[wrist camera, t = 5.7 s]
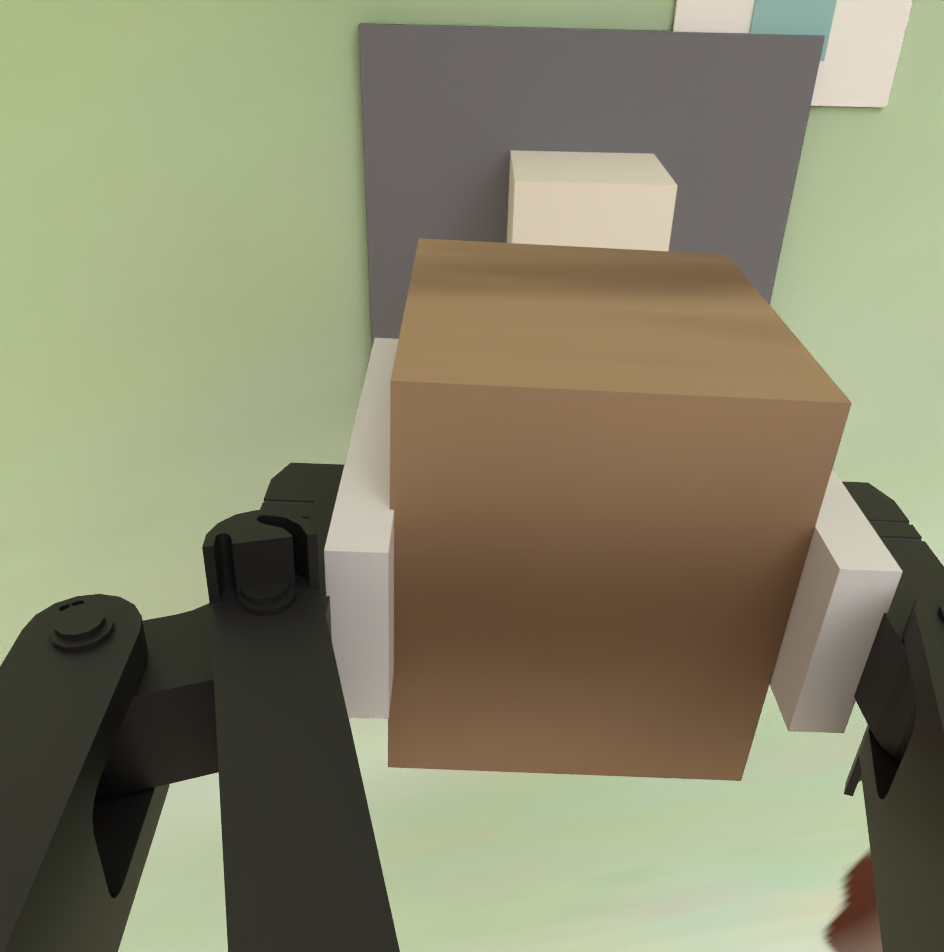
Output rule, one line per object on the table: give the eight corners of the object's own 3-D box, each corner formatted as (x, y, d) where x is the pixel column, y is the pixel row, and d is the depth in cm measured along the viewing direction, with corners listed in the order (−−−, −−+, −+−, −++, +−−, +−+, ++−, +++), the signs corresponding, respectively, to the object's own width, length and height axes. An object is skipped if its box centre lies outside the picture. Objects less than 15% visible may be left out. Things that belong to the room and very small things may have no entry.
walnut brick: (418, 238, 16) (390, 380, 10) (727, 254, 16) (851, 402, 11) (412, 542, 19) (387, 767, 14) (667, 553, 19) (740, 780, 14)
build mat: (360, 23, 27) (341, 40, 23) (819, 34, 27) (874, 53, 24) (376, 427, 35) (364, 490, 31) (738, 434, 35) (770, 498, 31)
